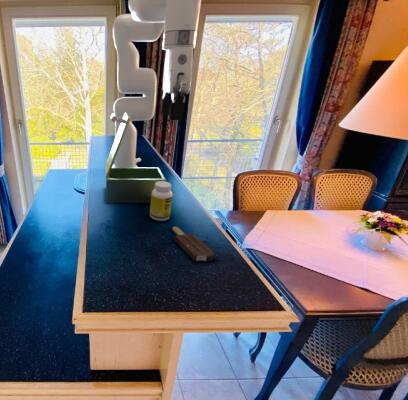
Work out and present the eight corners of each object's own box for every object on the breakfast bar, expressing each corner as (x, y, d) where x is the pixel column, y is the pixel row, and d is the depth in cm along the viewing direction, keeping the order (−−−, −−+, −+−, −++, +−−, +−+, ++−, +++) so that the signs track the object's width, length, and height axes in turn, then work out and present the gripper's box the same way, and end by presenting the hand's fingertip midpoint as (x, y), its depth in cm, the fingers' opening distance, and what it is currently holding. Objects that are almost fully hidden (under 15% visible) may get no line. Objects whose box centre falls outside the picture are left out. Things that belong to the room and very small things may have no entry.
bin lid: (127, 112, 91) (112, 107, 90) (130, 118, 79) (114, 112, 79) (107, 166, 99) (94, 162, 98) (107, 178, 88) (92, 173, 87)
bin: (156, 189, 103) (158, 167, 99) (163, 203, 91) (165, 179, 87) (106, 188, 103) (106, 167, 99) (106, 203, 92) (106, 179, 88)
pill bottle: (165, 223, 79) (170, 189, 74) (146, 218, 82) (149, 185, 77) (172, 215, 84) (176, 182, 79) (153, 210, 87) (156, 178, 82)
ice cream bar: (165, 231, 75) (196, 264, 62) (165, 226, 74) (197, 258, 61) (181, 228, 76) (215, 260, 63) (182, 223, 76) (217, 254, 63)
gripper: (208, 36, 54) (195, 122, 62) (184, 45, 70) (177, 113, 77) (171, 37, 55) (163, 122, 62) (156, 46, 70) (151, 113, 77)
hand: (171, 117), depth 70 cm, fingers open, 9 cm apart
